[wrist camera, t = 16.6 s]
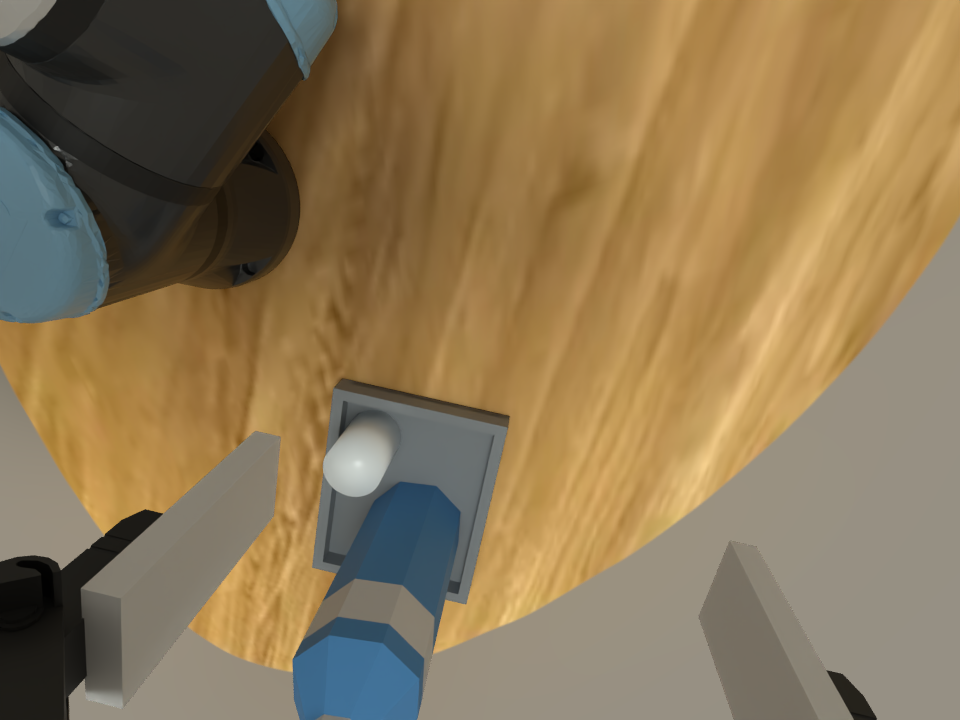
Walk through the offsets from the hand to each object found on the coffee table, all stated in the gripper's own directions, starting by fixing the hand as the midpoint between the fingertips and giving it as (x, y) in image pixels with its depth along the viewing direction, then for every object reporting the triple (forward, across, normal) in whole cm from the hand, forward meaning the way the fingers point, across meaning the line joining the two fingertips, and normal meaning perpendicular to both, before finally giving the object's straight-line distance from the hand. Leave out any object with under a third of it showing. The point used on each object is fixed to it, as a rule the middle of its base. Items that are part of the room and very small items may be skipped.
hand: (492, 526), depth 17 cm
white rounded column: (+34, -11, -16) cm, 39 cm away
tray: (+35, -7, -22) cm, 42 cm away
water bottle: (+34, -6, -25) cm, 43 cm away
